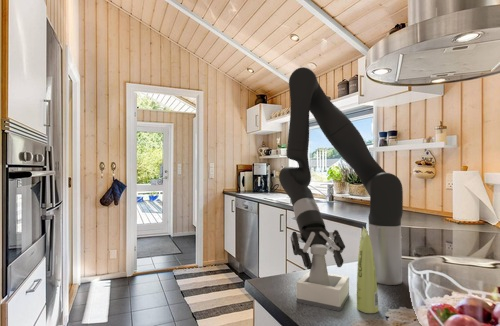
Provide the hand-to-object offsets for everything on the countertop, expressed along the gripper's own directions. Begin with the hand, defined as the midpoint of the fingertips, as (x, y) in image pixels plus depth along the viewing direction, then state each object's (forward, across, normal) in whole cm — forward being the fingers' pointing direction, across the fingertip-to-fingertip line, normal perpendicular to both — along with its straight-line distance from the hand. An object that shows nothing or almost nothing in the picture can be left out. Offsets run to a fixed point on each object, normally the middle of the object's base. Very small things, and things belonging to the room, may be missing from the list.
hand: (325, 266), depth 79 cm
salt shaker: (+4, -1, +7) cm, 8 cm away
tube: (+11, +8, +2) cm, 14 cm away
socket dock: (+5, 0, +7) cm, 9 cm away
